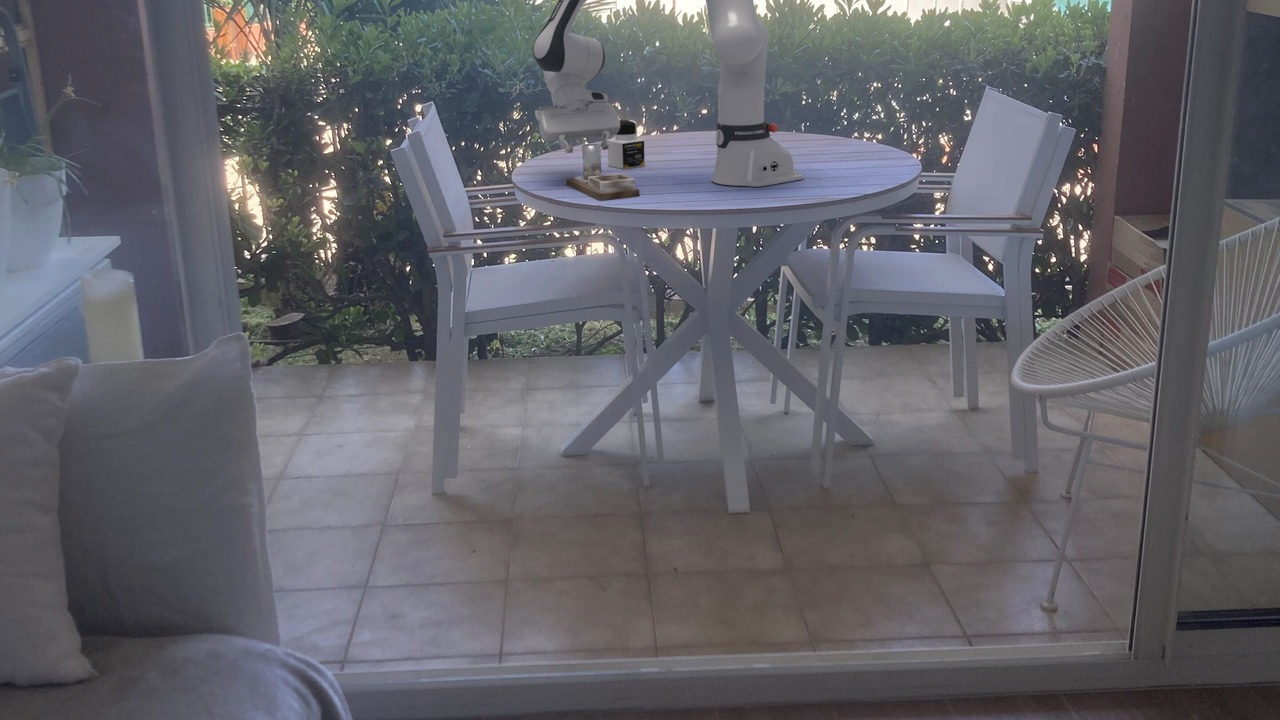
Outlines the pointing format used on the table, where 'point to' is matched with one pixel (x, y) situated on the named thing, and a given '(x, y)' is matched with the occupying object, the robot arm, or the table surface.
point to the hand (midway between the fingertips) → (588, 149)
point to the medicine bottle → (626, 147)
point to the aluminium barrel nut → (591, 160)
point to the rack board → (605, 186)
